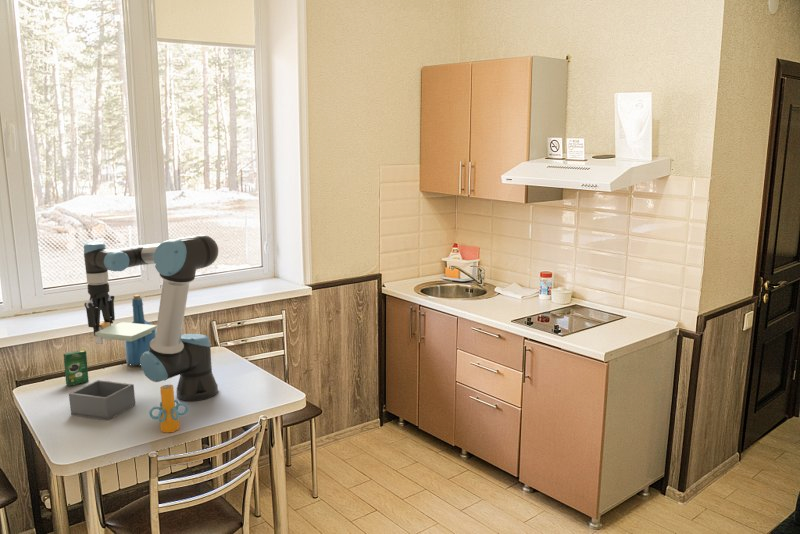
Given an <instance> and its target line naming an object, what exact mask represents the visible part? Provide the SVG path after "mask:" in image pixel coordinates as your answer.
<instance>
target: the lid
mask: <svg viewBox="0 0 800 534" xmlns="http://www.w3.org/2000/svg"><path fill="white" fill-rule="evenodd" d="M99 327H101V330H100V331H98V332H95V336H102V339H103V340H105V339H112V340H113V341H121V342H124V341H131V342H132V341H134V340H137V339H139V338H141V337H144V336H146V335H148V334H151V333H152V331H153V330H155V329H156V328H157V324H153V325H147V324H137V323H132V322H124V321H121V322H119V323H117V324H114V325H111V326H110V322H104V321H100V326H99ZM95 336H94V337H95ZM112 340H111V341H112Z"/></svg>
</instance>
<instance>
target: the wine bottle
mask: <svg viewBox="0 0 800 534" xmlns="http://www.w3.org/2000/svg"><path fill="white" fill-rule="evenodd" d="M132 296H133V298H132V301H131V302H132V316H133V319H132V320H133V321H132V322H131V323H137V324H147V325H154V324H153V323H152V322H149V321H147V320H145V315H144V303H143V298H142V297H141V295H140V294H134V295H132ZM155 335H156V329H155V330H153V331H152V333H151V334H148V335H146V336H144V337H141V338H139V339H137V340H134V341H132V342H131V341H123V342H124V353H125V361H126V364H128V365H129V364H131V365H130V366H132V365H140V357H141V355H142V354H143V353H144V352H146V351H149V346H150V342H151V340H152V339H154V338H155Z"/></svg>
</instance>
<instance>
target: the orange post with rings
mask: <svg viewBox="0 0 800 534" xmlns="http://www.w3.org/2000/svg"><path fill="white" fill-rule="evenodd" d="M174 391H175V390H174V384H165V385H161V386H160V398H161V400H160V404H159V406H154V407H151V409H150V410H149V417H150V418H151V419H154V420H158V422H159V423H160V424H159V425H160V431H161V432H162V433H165V434H169V433H170V434H171V433H173V432H177V431H179V429H180V428H181V427H180V426H181V425H180V417H179V416H185V415H186V414H187V413H188V411H189V407H188V404H186V403H185V402H181V403H179V401H178V400H177V399H175V394H174V393H175V392H174ZM175 404H176V405H175ZM180 406H183V407H185V408H184V409H185V410H184V411H183V412H179V411H178V410H179V408H180ZM154 410H159V412H158V415H157V416H154V415H153V411H154Z"/></svg>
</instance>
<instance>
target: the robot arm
mask: <svg viewBox="0 0 800 534" xmlns="http://www.w3.org/2000/svg"><path fill="white" fill-rule="evenodd" d="M105 244H106V243H104V242H101V241H93V242H87V243H85V244H84V245H83V259H84V267H85V275H86V276H85V277H86V283H87V285H86V286H87V293H88V295H89V300H88V302H84V304H83V305H84V306H85V311H86V318H87V325H88V328H92V329H93V336H94V338H95V339H94V340H95V344H97V345H104V342H103V340H104V341H112V339H102V336H95V332H98V331H100V330H101V327H99V326H100V322H101V313H102V319H103V322H110V326H112V324H114V322H115V319H116V317H115V305H114V304H115V302H114V301H115V295H110V294H109V293H110V283H109V281H110V280H109V279H110V278H109V273H108V272H109V271H111V272H123V271H125V270H127V268H128V269H129V268H132V267H137V266H145V265H154V267H155V269H156V272H158V274H159V277H160V278H161V279H163V280H162V285H161V286H162V287H161V294H160V300H159V301H160V302H159V307H158V315H157V321H156V322H157V323H156V325H157V328H156V335H155V338H154V339H152V340H151V342H150V346H149V351H146V352H144V353H143V354H142V355H141V357H140V364H141V366H140V367H141V370H142V373H143V374H144V375H145V376H146V378H147V379H149V381H151V382H154V383H160V382H163V381H167V380H169V379H172V378H173V377H174V378H175V377H176V376H179V378H178V382H177V386H176V397H177V399H180V400H182V401H190V402H191V401H194V402H195V401H203V400H207V399H209V398H213V397H214V396H215V395H217V394H218V392H219V387H218V386H219V385H218V383H217V381H216V379H215V377H214V374H213V369H212V366H213V365H212V354H211V353H212V350H211V349H212V348H211V347H212V346H211V342H210V341H211V340H210V338H209V336H208V335H206V334H201V333H184V334H182V333H183V325H184V321H185V314H186V312H185V311H186V307H187V299H188V294H189V288H190V283H191V282H193V281H194V280H195V278H196V272H197V270H200V269H204V268H207V267H209V266H211V265H212V264H214V263H215V262H216V260H217V259H218V256H219V246H218V243H217V242H216V241H215V239H213V238H212V237H211V236H208V235H205V234H195V235H191V236H184V237H178V238H177V237H175V238H170V239H168V240H164V241H162V242H160V243H149V244H148V243H144V244H141V245H135V246H134V245H133V246H130V247H123V248H118V249H117V248H116V249H107V248H106V245H105Z"/></svg>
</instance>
